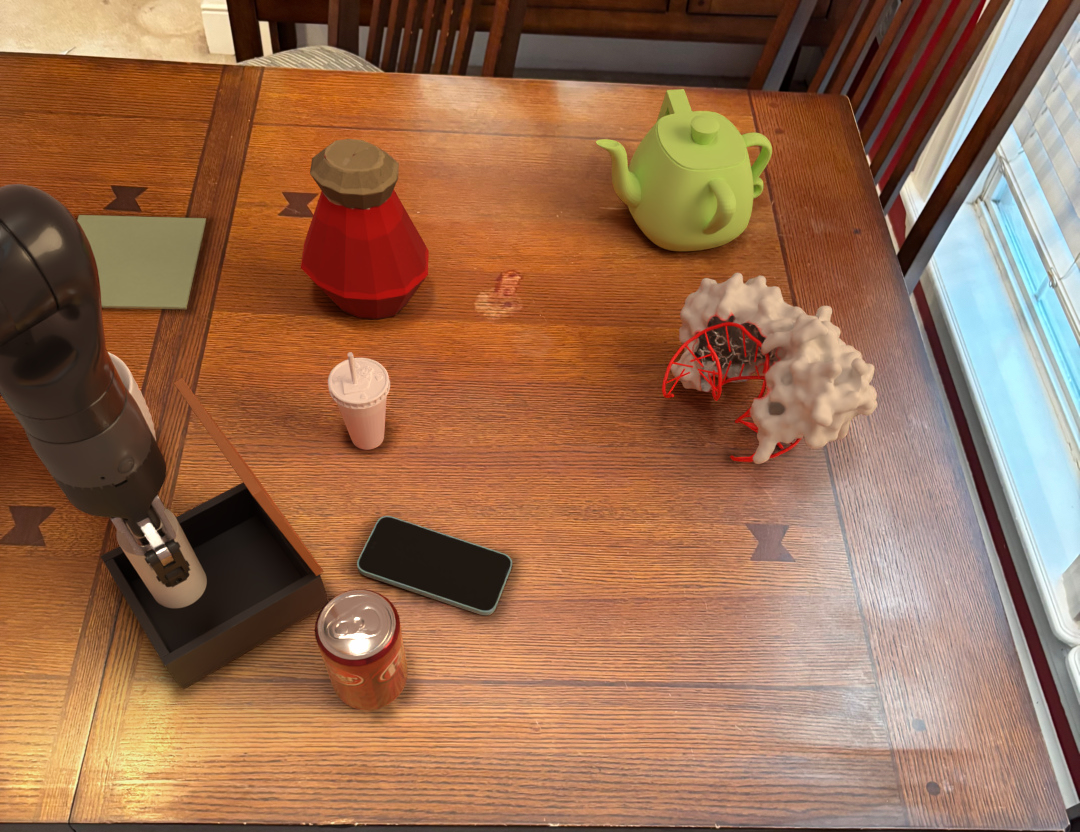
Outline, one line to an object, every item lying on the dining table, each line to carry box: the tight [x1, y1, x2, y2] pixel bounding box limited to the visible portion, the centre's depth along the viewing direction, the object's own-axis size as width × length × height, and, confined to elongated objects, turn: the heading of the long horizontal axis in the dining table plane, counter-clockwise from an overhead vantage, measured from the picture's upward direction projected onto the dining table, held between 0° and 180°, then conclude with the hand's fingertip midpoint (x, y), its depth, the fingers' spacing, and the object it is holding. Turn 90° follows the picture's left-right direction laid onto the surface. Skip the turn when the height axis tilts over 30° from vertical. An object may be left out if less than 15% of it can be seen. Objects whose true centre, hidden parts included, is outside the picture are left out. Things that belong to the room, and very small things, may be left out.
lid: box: [173, 377, 324, 576], centre depth 80 cm, size 17×14×1 cm
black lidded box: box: [100, 482, 329, 691], centre depth 88 cm, size 16×14×6 cm
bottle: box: [300, 138, 430, 321], centre depth 104 cm, size 16×14×20 cm
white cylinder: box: [116, 507, 207, 608], centre depth 80 cm, size 5×5×10 cm
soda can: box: [314, 588, 409, 711], centre depth 82 cm, size 7×7×12 cm
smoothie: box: [327, 351, 391, 451], centre depth 95 cm, size 6×6×14 cm
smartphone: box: [356, 515, 513, 616], centre depth 93 cm, size 7×1×15 cm
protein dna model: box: [661, 272, 878, 465], centre depth 100 cm, size 20×18×25 cm
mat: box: [76, 214, 207, 311], centre depth 113 cm, size 16×16×1 cm
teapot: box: [595, 88, 773, 252], centre depth 117 cm, size 19×20×14 cm
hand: (163, 556), depth 80 cm, fingers closed on white cylinder, 5 cm apart
